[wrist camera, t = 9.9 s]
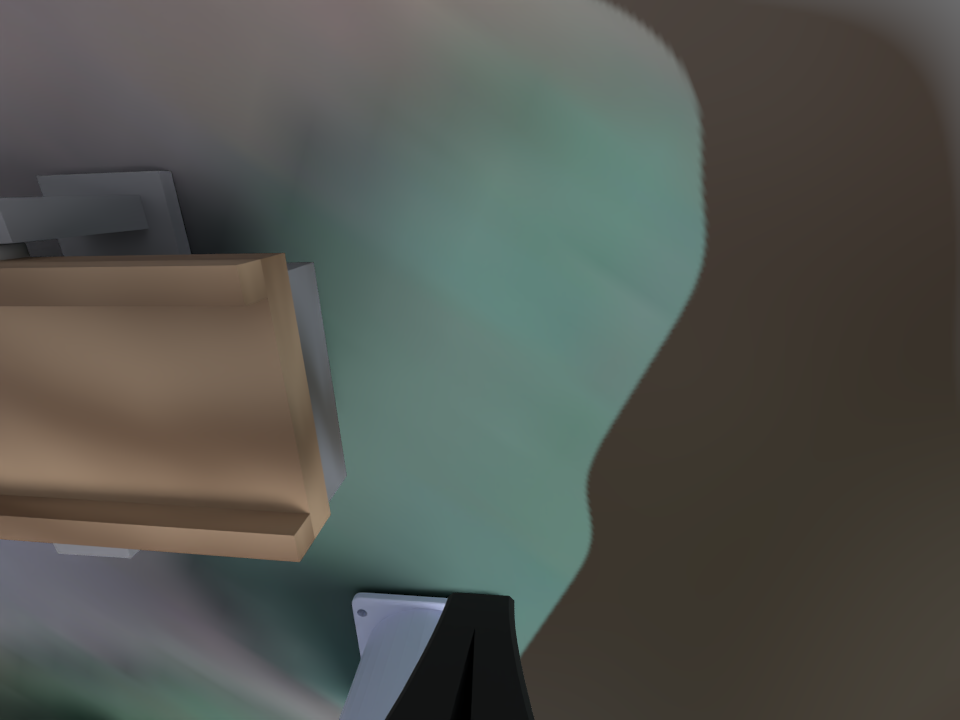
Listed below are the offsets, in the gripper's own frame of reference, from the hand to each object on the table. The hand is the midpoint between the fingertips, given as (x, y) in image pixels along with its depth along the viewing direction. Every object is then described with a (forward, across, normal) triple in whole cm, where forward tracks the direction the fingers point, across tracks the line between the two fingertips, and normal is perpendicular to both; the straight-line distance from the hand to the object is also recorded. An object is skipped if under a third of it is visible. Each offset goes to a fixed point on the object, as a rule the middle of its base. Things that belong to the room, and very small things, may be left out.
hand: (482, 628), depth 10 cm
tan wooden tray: (+7, +17, -3) cm, 19 cm away
